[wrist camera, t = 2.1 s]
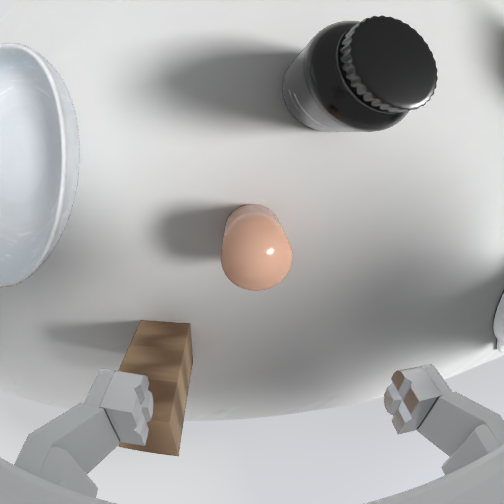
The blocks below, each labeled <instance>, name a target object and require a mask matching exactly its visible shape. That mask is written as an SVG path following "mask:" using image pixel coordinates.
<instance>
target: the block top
mask: <svg viewBox="0 0 504 504" xmlns="http://www.w3.org/2000/svg"><path fill="white" fill-rule="evenodd" d="M148 381H149V386H148V390H149V391H150V392H151V393H152V396H153V414H152V418H151V420H150V421H148V422H147V426H148V429H149V431H148V435H147V440H146V444H145V446H143V445H136V444H130V443H124V442H120V444H119V447H123V448H128V449H133V450H139V451H145V452H151V453H157V454H165V455H173V456H179V449H180V442H181V434H182V428H183V421H184V418H183V413H182V407H181V402H180V396H179V390H178V383H177V382H171V381H161V380H152V379H148Z"/></svg>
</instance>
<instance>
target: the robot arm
mask: <svg viewBox="0 0 504 504" xmlns="http://www.w3.org/2000/svg"><path fill="white" fill-rule="evenodd" d="M493 329H494V334H495V336H496V338H497V349H498V350H499V351H500V352H503V351H504V293H503V295H502V298H501V300H500V302H499V305H498V308H497V311H496V314H495V319H494V326H493ZM392 381H393V383H392V384H391V385H390V386H388V387H387V389H386V392H385V394H384V403H385V408H386V410H387V412H389V413H390V414H392V415H393V418H392V423H393V425H394V427H395V429H396V431H397V433H398V434H402V433H406V432H410V431H414V430H417V431H418V432H419V433H420V434H422V435H423V436H424V437H425V438H427V439H428V440H429V441H431V442H432V443H433V444H434V445H436V446H437V447H438V448H439V449H441V450H442V451H443V452H445V453H446V454H447V455H448V456H450V458H449V459H448V460H447V461H446V462H445V463H444V464H443V466H442V470H443V471H444V474H445V476H443V477H440V478H438V479H436V480H434V481H431V482H429V483H426V484H424V485H421V486H418V487H416V488H413V489H410V490H408V491H405V492H402V493H399V494H395V495H392V496H389V497H386V498H382V499H379V500H375V501H372V502H368V503H364V504H504V420H503V419H502V417H501V416H500V415H499V414H497V413H495V412H493V411H491V410H490V409H488V408H486V407H484V406H482V405H480V404H478V403H476V402H474V401H472V400H470V399H469V398H467V397H465V396H463V395H461V394H459V393H457V392H452V390H451V389H450V388H449V386H448V385H447V383H446V382H445V380H444V379H443V378H442V376H441V375H440V373H439V372H438V371H437V369H436V368H435V367H434V366H433V365H431V364H429V365H425V366H420V367H414V368H409V369H403V370H398V371H396V372H395V373H394V374H393V376H392ZM148 386H149V381H148V377H147V376H145V375H139V374H133V373H126V372H121V371H114V370H108V369H102V370H100V371H99V373H98V375H97V377H96V379H95V381H94V383H93V385H92V388H91V390H90V392H89V394H88V396H87V398H86V400H85V403H84V404H82V403H79V404H78V405H76V406H74V407H73V408H71V409H70V410H68V411H66V412H65V413H63V414H62V415H60V416H58V417H57V418H55V419H53V420H52V421H50V422H49V423H47V424H45V425H44V426H42V427H40V428H39V429H37V430H35V431H34V432H32V433H31V434H29V435H28V437H27V439H26V441H25V443H24V445H23V447H22V449H21V451H20V453H19V456H18V458H17V460H16V462H15V464H14V465H13V464H11V463H9V462H8V461H6V460H4V459H2V458H0V504H116V503H112V502H108V501H104V500H100V499H97V498H96V495H97V490H98V488H97V486H96V485H95V483H93V481H92V480H91V479H90V478H89V477H88V476H87V474H88V473H89V472H90V471H91V470H92V469H93V468H94V467H95V466H96V465H98V464H99V463H100V462H101V461H102V460H103V459H104V458H105V457H106V456H107V455H108V454H109V453H110V452H112V451H113V450H114V449H115V448H116V447H117V446H118V445H119V444H120V442H124V443H130V444H136V445H143V446H145V444H146V440H147V435H148V431H149V429H148V426H147V422H148V421H150V420H151V418H152V414H153V396H152V393H151V392H150V391H149V390H148Z"/></svg>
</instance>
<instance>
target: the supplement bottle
mask: <svg viewBox="0 0 504 504" xmlns="http://www.w3.org/2000/svg"><path fill="white" fill-rule="evenodd" d="M437 79H438V78H437V68H436V62H435V60H434V58H433V54H432V52H431V51H430V49H429V47H428V44H427V43H426V42H425V41H424V40H423V38H422V36H420V35H419V34H418V33H417V32H416V30H414V29H413V28H411V27H410V26H409V25H408V24H406V23H403V22H402V21H400V20H398V19H394V18H392V17H385V16H379V17H377V16H373V17H371V18H366V19H364V20H363V21H361V22H359V21H342V22H338V23H334V24H332V25H329V26H327V27H326V28H324V29H323V30H321V31H320V32H319V33H318V34H317V35H316V36H315V37H314V38H313V39H312V40H311V41H310V42H309V43H308V45H307V46H306V47H305V48H304V49H303V50H302V52H301V53H300V54H299V55H298V56H297V58H296V59H295V60H294V61H293V62H292V64H291V65H290V67H289V68H288V70H287V71H286V74H285V76H284V80H283V96H284V100H285V103H286V105H287V107H288V109H289V110H290V112H291V113H292V114H293V116H294V117H295V118H296V119H297V120H298V121H300V122H301V123H302V124H304V125H306V126H307V127H309V128H312V129H315V130H318V131H324V132H372V131H380V130H384V129H387V128H390V127H392V126H394V125H396V124H397V123H398V122H400V121H401V120H402V119H403V118H404V117H405V116H406V115H407V113H408V112H409V111H410V110H414V109H418V108H419V107H420V106H424V105H425V103H426V102H427V101H429V100H430V98H431V96H432V95H433V94H434V89H435V88H436V82H437Z"/></svg>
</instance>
